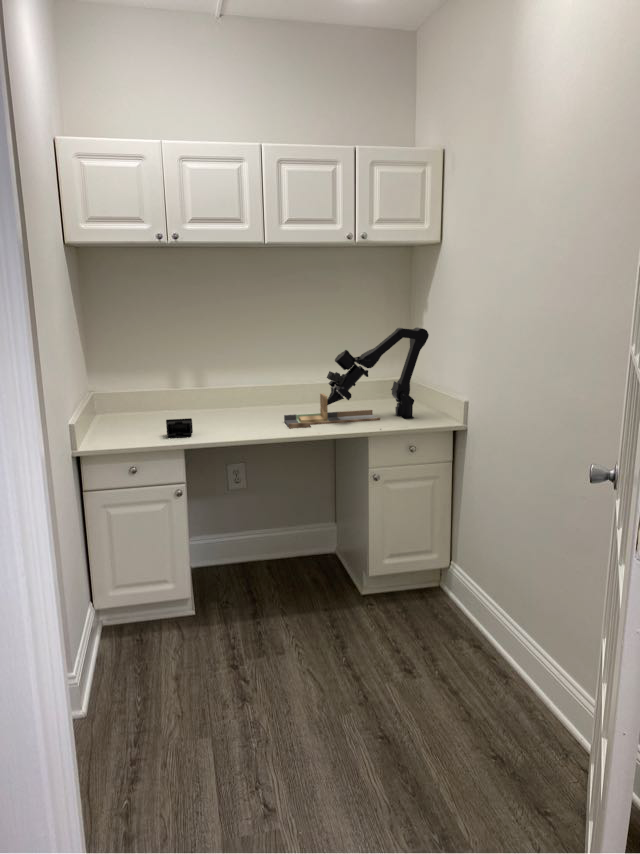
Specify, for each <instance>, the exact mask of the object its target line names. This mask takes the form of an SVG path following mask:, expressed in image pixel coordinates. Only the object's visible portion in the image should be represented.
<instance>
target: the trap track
mask: <svg viewBox="0 0 640 854" xmlns="http://www.w3.org/2000/svg"><path fill="white" fill-rule="evenodd" d="M319 415H321V414H320V412H313V413H296V414H295V413H293V414H284V415H283V420H284V423H285V425H286V426H287V428H288V429H289V424H291V423H301V422H300V421H299V417H303V416H319ZM367 418H377V417H376V416H375V415H374V413H373V409H363V410H362V409H361V410H346V411H342V410H341V411H328V421H337V420H352V419H367Z"/></svg>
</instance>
